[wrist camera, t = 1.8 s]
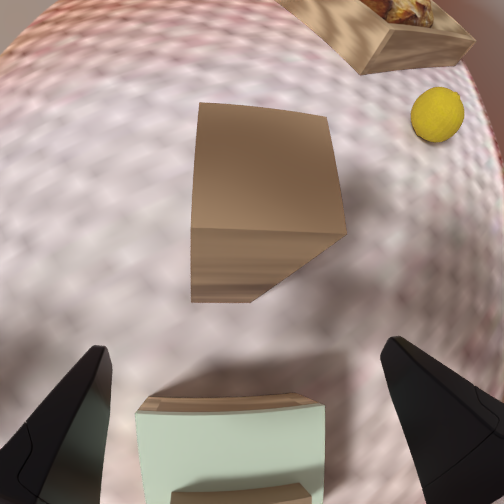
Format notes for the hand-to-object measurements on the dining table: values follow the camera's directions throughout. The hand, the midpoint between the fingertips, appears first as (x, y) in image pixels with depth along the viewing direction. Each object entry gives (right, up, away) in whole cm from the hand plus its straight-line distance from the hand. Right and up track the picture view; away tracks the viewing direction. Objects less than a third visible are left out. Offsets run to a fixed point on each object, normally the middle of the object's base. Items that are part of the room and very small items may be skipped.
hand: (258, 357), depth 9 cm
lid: (-1, -11, +5) cm, 12 cm away
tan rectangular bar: (-2, +2, +12) cm, 13 cm away
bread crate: (+17, +45, +29) cm, 56 cm away
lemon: (+19, +17, +21) cm, 33 cm away
